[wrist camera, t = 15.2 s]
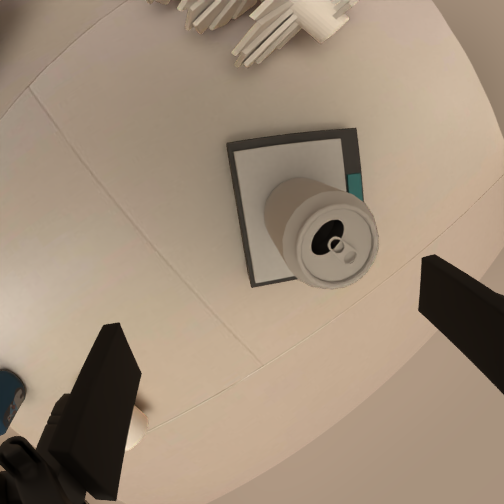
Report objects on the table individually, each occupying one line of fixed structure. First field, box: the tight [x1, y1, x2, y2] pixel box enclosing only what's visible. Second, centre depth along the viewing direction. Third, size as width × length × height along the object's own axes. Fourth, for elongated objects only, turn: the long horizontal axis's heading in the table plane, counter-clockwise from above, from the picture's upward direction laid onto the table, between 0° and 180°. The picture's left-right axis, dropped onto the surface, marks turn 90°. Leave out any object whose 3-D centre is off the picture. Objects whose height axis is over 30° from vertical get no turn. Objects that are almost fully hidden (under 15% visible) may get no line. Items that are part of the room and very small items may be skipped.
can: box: [264, 178, 379, 289], centre depth 27 cm, size 8×8×12 cm
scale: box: [226, 128, 364, 288], centre depth 35 cm, size 16×14×4 cm
